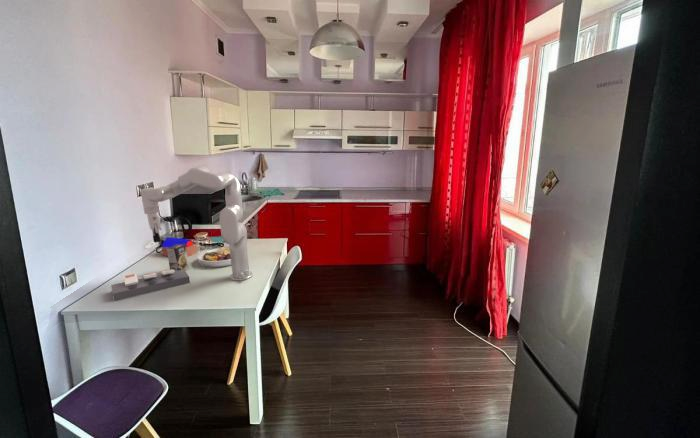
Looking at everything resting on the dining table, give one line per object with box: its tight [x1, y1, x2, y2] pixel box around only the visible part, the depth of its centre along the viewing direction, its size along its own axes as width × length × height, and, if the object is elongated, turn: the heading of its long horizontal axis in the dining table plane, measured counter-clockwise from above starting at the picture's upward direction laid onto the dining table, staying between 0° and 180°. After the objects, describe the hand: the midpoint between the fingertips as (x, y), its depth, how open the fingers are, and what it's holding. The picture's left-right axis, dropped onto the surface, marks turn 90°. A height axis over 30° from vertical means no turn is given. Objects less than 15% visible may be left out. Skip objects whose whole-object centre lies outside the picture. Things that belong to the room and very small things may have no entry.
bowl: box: [197, 246, 231, 268], centre depth 241 cm, size 30×30×8 cm
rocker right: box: [160, 269, 175, 276], centre depth 207 cm, size 8×6×2 cm
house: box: [161, 237, 198, 258], centre depth 256 cm, size 12×20×12 cm, turn 69°
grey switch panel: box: [111, 269, 191, 302], centre depth 201 cm, size 14×36×4 cm, turn 125°
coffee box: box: [167, 244, 190, 272], centre depth 222 cm, size 9×6×16 cm
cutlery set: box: [209, 235, 225, 250], centre depth 280 cm, size 20×30×2 cm, turn 7°
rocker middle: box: [142, 272, 158, 280], centre depth 202 cm, size 8×6×2 cm
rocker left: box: [122, 273, 139, 286], centre depth 197 cm, size 8×6×2 cm
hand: (157, 241), depth 211 cm, fingers closed
